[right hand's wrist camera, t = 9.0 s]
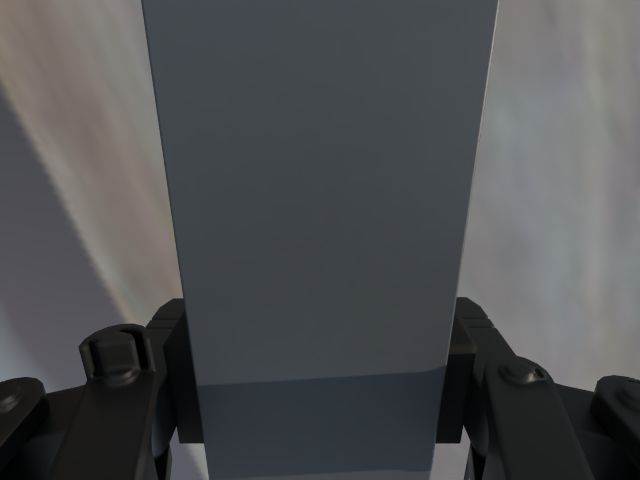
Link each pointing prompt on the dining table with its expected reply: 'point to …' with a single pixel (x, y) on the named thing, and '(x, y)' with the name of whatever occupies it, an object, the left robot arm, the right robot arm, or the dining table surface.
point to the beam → (320, 220)
